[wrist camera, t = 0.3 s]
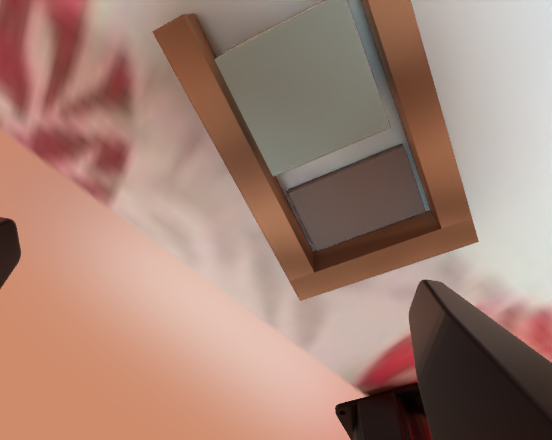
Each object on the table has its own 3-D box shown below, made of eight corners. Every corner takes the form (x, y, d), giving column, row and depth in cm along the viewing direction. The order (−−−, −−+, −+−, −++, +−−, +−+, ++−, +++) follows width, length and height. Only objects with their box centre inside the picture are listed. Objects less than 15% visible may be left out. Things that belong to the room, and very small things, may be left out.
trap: (423, 208, 22) (425, 211, 22) (316, 247, 24) (316, 250, 24) (402, 144, 21) (403, 146, 20) (288, 190, 22) (287, 193, 22)
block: (371, 100, 20) (390, 127, 16) (278, 140, 21) (273, 176, 17) (334, -6, 18) (344, -8, 14) (234, 46, 19) (214, 59, 15)
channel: (464, 223, 23) (478, 241, 21) (300, 279, 25) (300, 300, 23) (374, -87, 16) (382, -98, 15) (166, 29, 19) (152, 31, 17)
